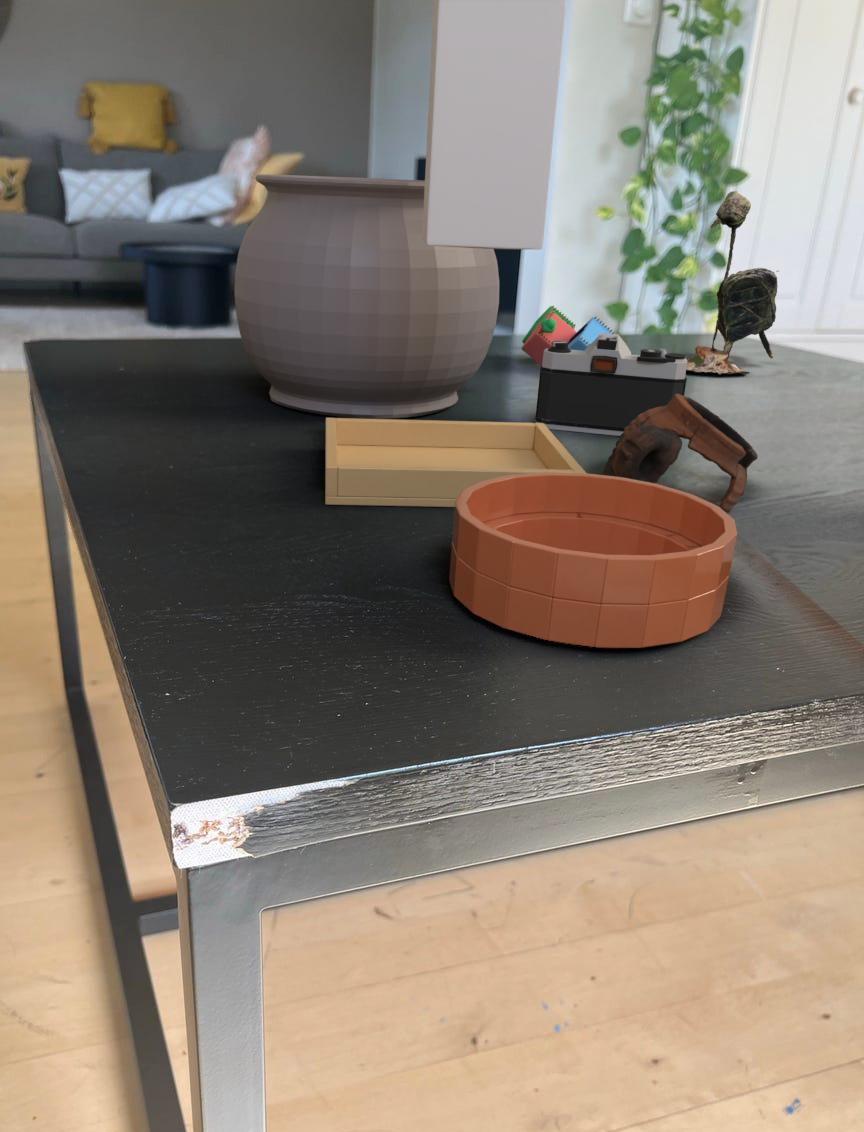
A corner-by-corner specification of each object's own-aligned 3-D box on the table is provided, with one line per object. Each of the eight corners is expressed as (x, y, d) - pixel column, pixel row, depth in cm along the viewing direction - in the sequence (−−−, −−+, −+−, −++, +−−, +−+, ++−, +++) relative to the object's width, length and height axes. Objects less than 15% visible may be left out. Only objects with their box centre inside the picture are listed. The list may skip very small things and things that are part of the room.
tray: (540, 454, 81) (543, 422, 80) (582, 509, 68) (587, 473, 66) (325, 449, 80) (325, 417, 78) (325, 505, 66) (325, 467, 65)
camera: (678, 424, 93) (687, 324, 89) (682, 442, 86) (691, 335, 82) (539, 422, 96) (542, 326, 92) (532, 440, 89) (535, 336, 85)
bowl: (668, 554, 60) (682, 474, 58) (762, 659, 47) (784, 561, 45) (437, 551, 59) (442, 469, 57) (468, 656, 46) (476, 556, 44)
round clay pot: (184, 406, 92) (172, 171, 83) (314, 367, 112) (316, 175, 104) (430, 443, 83) (445, 183, 74) (523, 393, 103) (543, 185, 95)
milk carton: (542, 252, 60) (580, -133, 52) (426, 248, 60) (445, -139, 52) (527, 245, 66) (558, -99, 58) (421, 241, 66) (438, -104, 58)
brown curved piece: (618, 477, 77) (689, 389, 73) (707, 557, 73) (787, 469, 70) (549, 466, 67) (627, 365, 64) (648, 558, 64) (736, 456, 60)
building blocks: (554, 404, 121) (606, 360, 110) (503, 362, 120) (551, 313, 109) (583, 360, 124) (637, 313, 113) (534, 318, 123) (583, 267, 112)
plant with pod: (770, 383, 114) (808, 194, 106) (670, 373, 117) (699, 189, 109) (768, 371, 121) (804, 193, 113) (674, 363, 124) (702, 189, 116)
